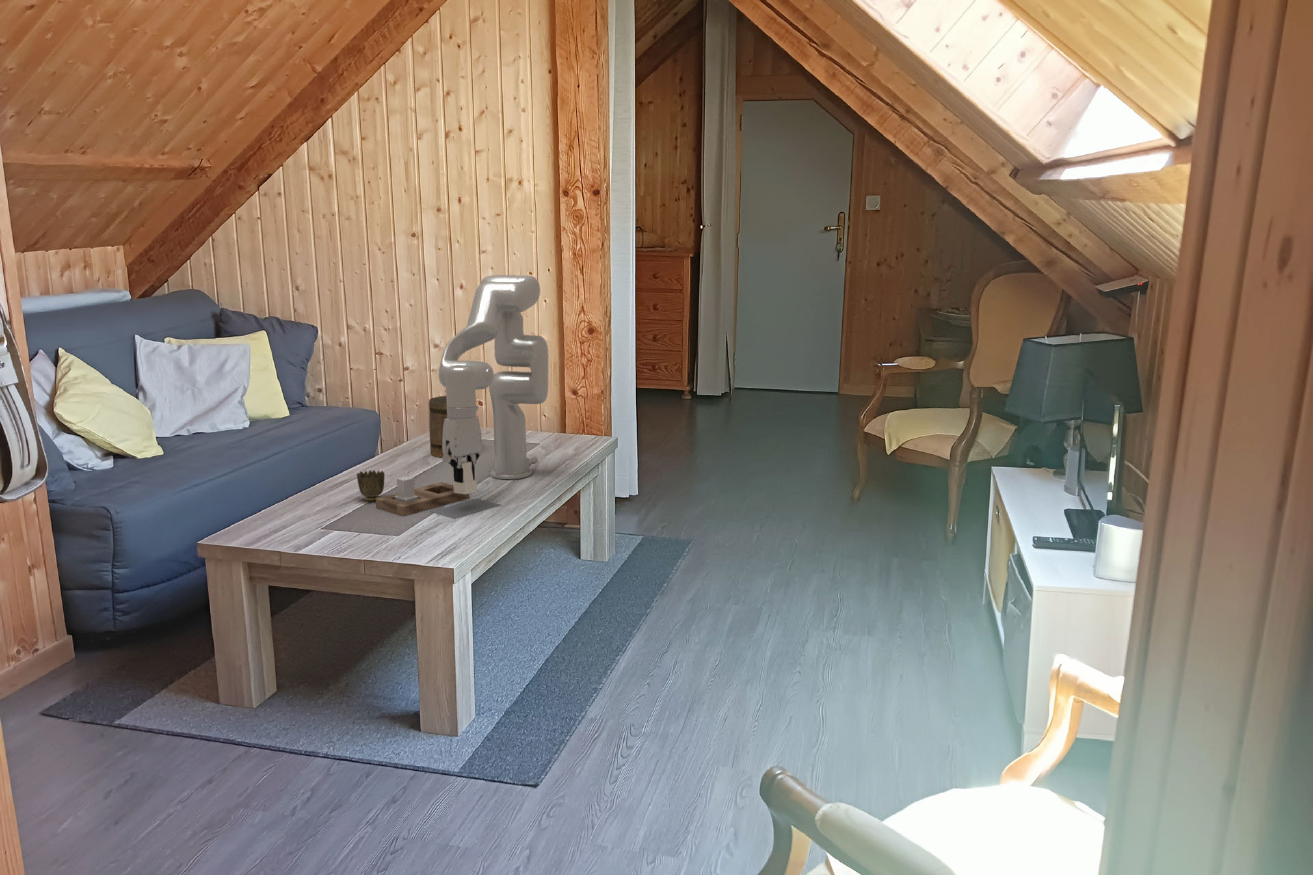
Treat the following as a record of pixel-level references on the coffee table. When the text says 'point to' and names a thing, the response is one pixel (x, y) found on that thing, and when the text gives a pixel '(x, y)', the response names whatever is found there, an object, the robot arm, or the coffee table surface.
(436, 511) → the mat
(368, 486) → the cup
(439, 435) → the wooden container
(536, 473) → the coffee table surface
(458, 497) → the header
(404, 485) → the grey plug
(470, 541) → the coffee table surface
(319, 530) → the coffee table surface
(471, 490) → the ivory plug
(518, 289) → the robot arm
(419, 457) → the coffee table surface
